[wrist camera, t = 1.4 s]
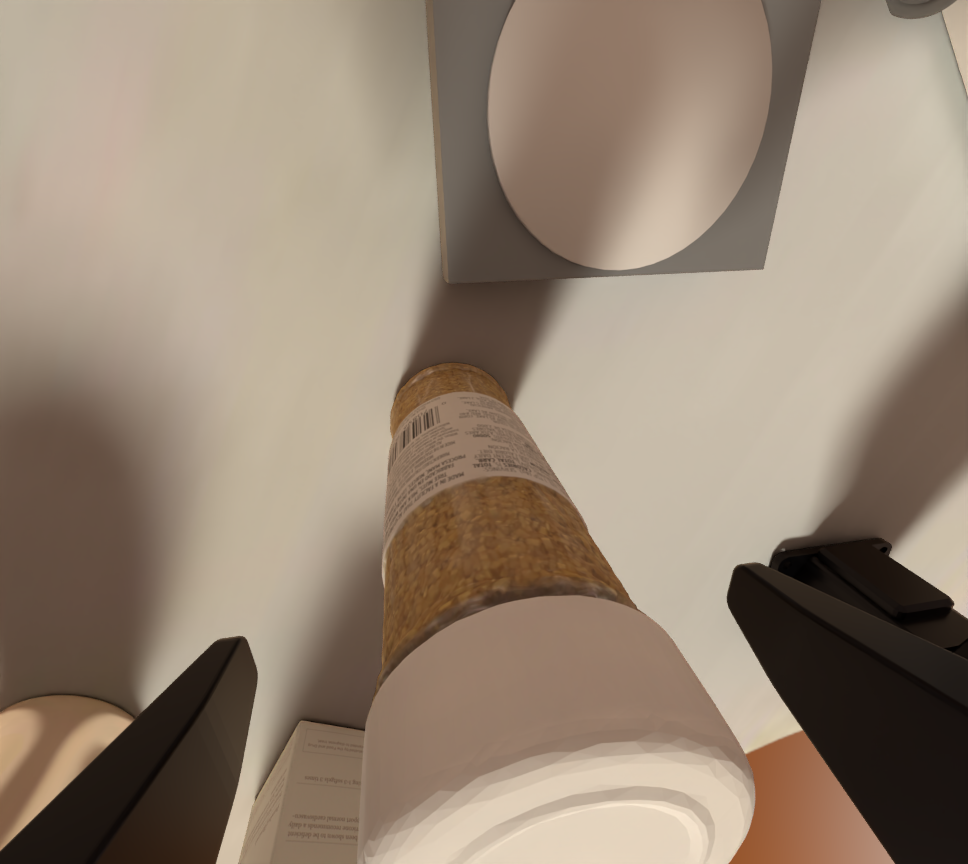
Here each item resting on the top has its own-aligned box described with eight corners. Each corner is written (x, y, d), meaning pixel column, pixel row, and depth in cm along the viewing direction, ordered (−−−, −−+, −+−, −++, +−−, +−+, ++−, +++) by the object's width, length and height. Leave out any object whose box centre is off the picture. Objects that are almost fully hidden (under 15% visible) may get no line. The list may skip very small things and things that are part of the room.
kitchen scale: (719, 265, 16) (772, 270, 14) (442, 277, 15) (450, 285, 12) (808, -244, 11) (915, -370, 9) (406, -296, 10) (407, -462, 8)
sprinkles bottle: (439, 490, 18) (512, 1019, 6) (362, 407, 16) (240, 934, 4) (532, 425, 18) (822, 856, 5) (465, 331, 16) (681, 669, 3)
